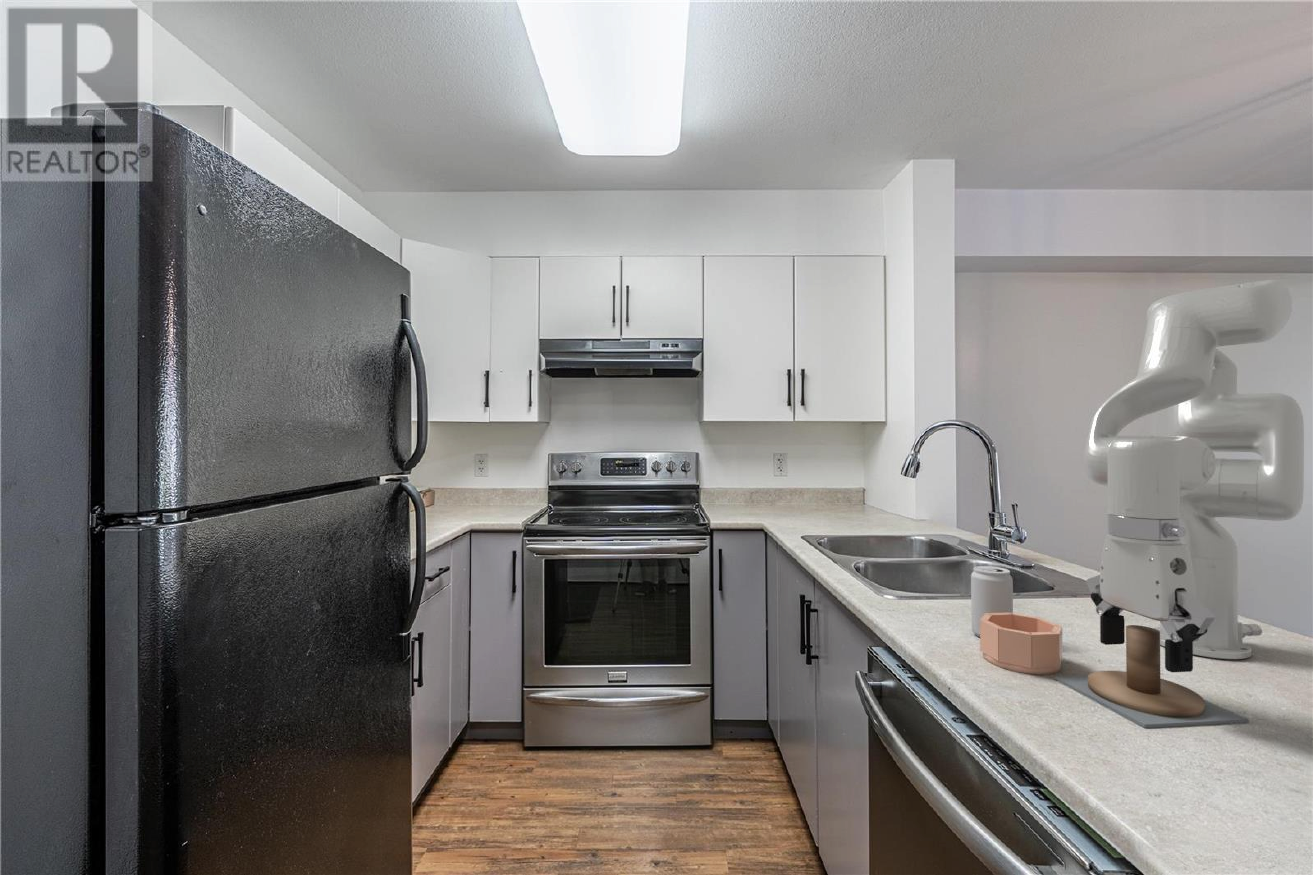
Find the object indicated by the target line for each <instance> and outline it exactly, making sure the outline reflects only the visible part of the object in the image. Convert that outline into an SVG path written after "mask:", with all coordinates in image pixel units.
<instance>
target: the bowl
mask: <svg viewBox="0 0 1313 875" xmlns="http://www.w3.org/2000/svg"><path fill="white" fill-rule="evenodd" d="M979 640H980V641H979V645H980V646H979V647H980V648H979V651H980V652H981V653H982V656H983V659H984V660H986V662H989V663H990V664H992V665H994V666H996V667H1000V668H1003V669H1005V670H1009V671H1012V672H1017V673H1020V674H1021V673H1022V674H1029V675H1040V676H1041V675H1042V676H1043V675H1054V674H1056V673H1058V672H1060V671H1061V668H1062V661H1063V626H1062V625H1059V624H1058V623H1055V622H1052V621H1050V620H1048V619H1046V618H1043V617H1041V616H1034V615H1027V614H1022V613H1021V614H1020V613H1015V612H1013V613H985V614H984V616H983V617H982V618H981V619H980V637H979Z"/></svg>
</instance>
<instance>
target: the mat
mask: <svg viewBox="0 0 1313 875" xmlns="http://www.w3.org/2000/svg"><path fill="white" fill-rule="evenodd" d="M1089 675H1090V674H1087V675H1068V676H1067V675H1065V676H1063V675H1062V676H1054V680H1055V681H1057V682H1058V683H1061V684H1063V685H1064V686H1066V687H1067V688H1070V689H1072V690H1074V691H1075V692H1077V693H1079V694H1081V695H1083V696H1084V697H1086V698H1088V699H1091V700H1092V701H1093V702H1095V703H1097V704H1099V705H1101V706H1103V707H1105V708H1107V709H1108V710H1110V711H1112V712H1114V713H1116V714H1117V715H1119V716H1122V717H1123V718H1125V719H1127V720H1129V721H1131V722H1133V723H1135V724H1137V725H1138V726H1139V727H1142V728H1144V729H1147V728H1148V729H1150V728H1166V727H1167V728H1168V727H1186V726H1190V727H1191V726H1205V725H1206V726H1207V725H1209V726H1210V725H1222V724H1224V725H1225V724H1241V723H1242V724H1246V723H1249V722H1250V719H1249V718H1247V717H1244V716H1242V715H1240V714H1238V713H1235V712H1233V711H1231V710H1229V709H1226V708H1225V707H1222V706H1219V705H1217V704H1216V703H1214V702H1210V701H1208V700H1206V699H1204V701H1205V712H1204V713H1203V714H1202V715H1200V716H1197V717H1190V718H1176V717H1165V716H1158V715H1153V714H1148V713H1143V712H1139V711H1135V710H1132V709H1128V708H1125V707H1122V706H1119V705H1117V704H1114V703H1112V702H1109V701H1107V700H1105V699H1103V698H1101V697H1099V696H1098V695H1096V694H1095V693H1093V692H1092V691H1091V690H1090V689H1089V687H1088V676H1089Z"/></svg>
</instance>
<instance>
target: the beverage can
mask: <svg viewBox="0 0 1313 875" xmlns="http://www.w3.org/2000/svg"><path fill="white" fill-rule="evenodd" d="M970 578H971V579H970V581H971V582H970V585H971V586H970V590H971V591H970V593H971V594H970V597H971V602H970V605H971V607H970V608H971V610H970V611H971V631H972V632H973V633H974V634H975V636H977V637H978V638H980V619H981V618H982V617H983V616H984V614H985V613H1014V590H1013V589H1014V588H1013V587H1014V585H1013V584H1014V583H1013V579H1014V578H1013V577H1012V576H1011V571H1010V570H1009V569H1007V568H1003V567H998V566H991V565H988V566H987V565H978V566H974V567H973V572H971V574H970Z"/></svg>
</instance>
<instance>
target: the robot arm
mask: <svg viewBox="0 0 1313 875" xmlns="http://www.w3.org/2000/svg"><path fill="white" fill-rule="evenodd" d="M1292 300H1293V299H1292V296H1291V293H1290V290H1289V289H1288V287H1287V285H1286V284H1285V283H1284V282H1282V281H1281V280H1278V279H1266V280H1265V279H1264V280H1257V281H1251V282H1244V283H1240V284H1239V283H1237V284H1233V285H1232V284H1231V285H1225V286H1218V287H1209V288H1204V289H1198V290H1197V289H1196V290H1191V291H1185V292H1179V293H1175V294H1171V295H1168V296H1164V297H1162V298H1159V299H1157V300H1156V301H1153V303H1151V304H1150V305H1149V307H1148V308H1147V311H1146V323H1147V324H1146V329H1145V334H1144V339H1143V343H1142V348H1141V354H1140V359H1139V363H1138V368H1137V374H1136V377H1135V378H1133V379H1132V380H1130V381H1129V382H1128V383H1126V384H1124V385H1123V386H1121V387H1120V388H1119V389H1117V390H1116V391H1115V392H1114V393H1113V394H1112V395H1110V396H1109V397H1108V398H1107V399H1106V400H1105V401H1104V402H1103V403H1102V404H1101V405H1100V406H1099V408H1098V409H1097V410H1096V412H1095V413H1094V415H1093V417H1092V419H1091V421H1090V424H1089V428H1088V432H1087V439H1086V442H1085V448H1084V454H1083V466H1084V467H1083V468H1084V472H1085V474H1086V476H1087V477H1088V478H1089V480H1091V481H1092V482H1094V483H1096V484H1098V485H1101V486H1107V534H1106V535H1105V538H1104V541H1103V547H1102V551H1101V560H1100V568H1099V569H1100V571H1099V574H1098V575H1096V576H1093V577H1090V578H1087V579H1086V580H1085V582H1086V583H1085V584H1086V585H1087V589H1088V590H1089V593H1090V599H1091V600H1092V603H1094V605H1095V612H1096V613H1097V615H1099V627H1100V628H1099V630H1100V631H1099V633H1100V636H1099V637H1100V640H1099V641H1100V644H1103V645H1105V646H1106V645H1107V646H1108V645H1109V646H1110V645H1111V646H1112V645H1123V644H1125V643H1126V626H1125V616H1124V615H1121V613H1122V612H1124V611H1125V612H1126V611H1127V612H1128V613H1132V614H1135V615H1138V616H1141V617H1143V618H1146V619H1150V620H1153V621H1158V622H1160V624H1159V625H1160V626H1156V627H1153V628H1154V629H1156V630H1158V631H1160V646H1162V647H1164V668H1165V670H1166V671H1168V672H1170V673H1188V672H1189V673H1190V672H1192V671H1193V670H1194V655H1195V656H1199V657H1200V656H1201V657H1205V658H1212V659H1220V660H1222V659H1223V660H1245V659H1249V658H1250V657H1251V656H1252V648H1251V647H1250V645H1249V644H1247V643H1245V642H1244V641H1243V639H1244V638H1245V637H1246V636H1247V637H1257V636H1261V635H1262V634H1263V629H1262V628H1261V626H1260V625H1259V624H1257V623H1243V622H1240V621H1239V616H1238V615H1239V612H1238V610H1239V606H1238V604H1239V603H1238V602H1239V601H1238V600H1239V599H1238V598H1239V597H1238V593H1239V592H1238V588H1239V587H1238V578H1239V577H1238V576H1239V575H1238V569H1239V568H1238V558H1239V557H1238V545H1237V542H1236V540H1235V539H1234V537H1233V536H1232V535H1231V534H1230V533H1229V532H1228V530H1227V529H1225V527H1223V526H1222V525H1221V524H1220V523H1219V521H1218V520H1216V518H1231V519H1245V520H1256V521H1257V520H1258V521H1271V522H1272V521H1274V522H1275V521H1276V522H1280V521H1288V520H1292V519H1294V518H1295V517H1296V516H1298V515H1299V513H1301V509H1302V507H1303V506H1302V505H1303V501H1304V488H1305V484H1304V483H1305V482H1304V477H1305V476H1304V474H1305V473H1304V471H1305V470H1304V469H1305V467H1304V466H1305V464H1304V462H1305V428H1304V427H1305V425H1304V416H1303V411H1302V408H1301V407H1300V404H1299V403H1298V402H1297V400H1296V399H1295V398H1293V397H1292V396H1290V395H1287V394H1282V393H1274V392H1263V393H1262V392H1259V393H1243V394H1242V393H1238V392H1237V386H1238V368H1237V365H1236V364H1235V362H1233V360H1232V359H1231V358H1229V357H1228V356H1227V354H1226V353H1223V351H1221V350H1220V349H1218V348H1217V347H1226V346H1238V345H1247V344H1257V343H1264V342H1268V341H1271V340H1272V339H1274V338H1275V337H1276V336H1277V335H1278V334H1279V333H1280V332H1281V331H1283V329H1284V328H1285V327H1286V325H1287V324H1288V322H1289V320H1290V318H1291V313H1292V309H1293V301H1292ZM1165 409H1167V417H1166V418H1167V419H1166V420H1167V421H1166V423H1167V424H1166V427H1167V428H1166V430H1167V435H1165V436H1164V435H1163V436H1162V435H1161V436H1160V435H1159V436H1155V435H1119V434H1120V432H1121V431H1123V429H1124V428H1125V427H1127V426H1129V424H1131V423H1133V422H1135V421H1136V420H1138V419H1140V418H1143V417H1146V416H1149V415H1152V414H1154V413H1157V412H1159V411H1162V410H1165ZM1215 452H1219V453H1223V452H1225V453H1226V452H1227V453H1229V452H1230V453H1232V452H1233V453H1234V452H1235V453H1255V454H1257V455H1260V457H1261V459H1246V458H1245V459H1241V458H1239V459H1235V458H1216V456H1215Z"/></svg>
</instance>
